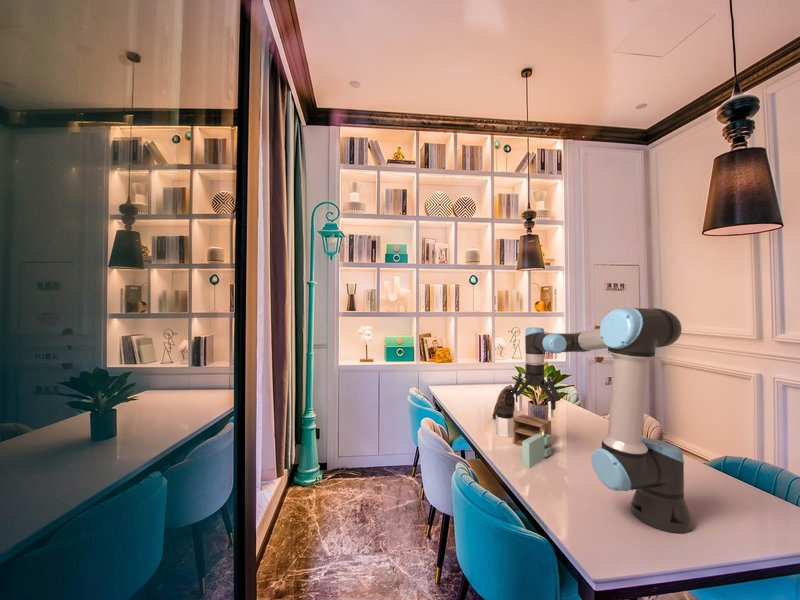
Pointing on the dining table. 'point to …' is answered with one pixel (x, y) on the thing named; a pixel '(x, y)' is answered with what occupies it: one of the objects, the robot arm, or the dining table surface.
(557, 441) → the dining table surface
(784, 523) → the dining table surface
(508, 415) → the jar
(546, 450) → the door
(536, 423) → the cabinet
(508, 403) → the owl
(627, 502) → the dining table surface
